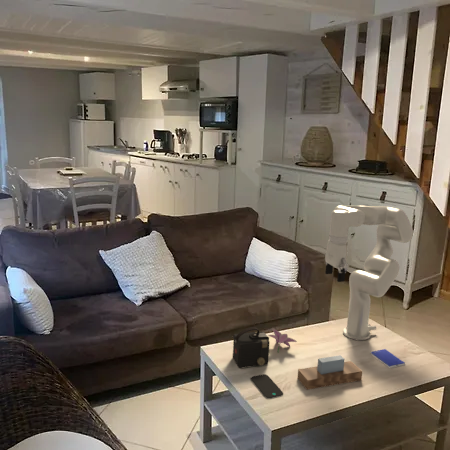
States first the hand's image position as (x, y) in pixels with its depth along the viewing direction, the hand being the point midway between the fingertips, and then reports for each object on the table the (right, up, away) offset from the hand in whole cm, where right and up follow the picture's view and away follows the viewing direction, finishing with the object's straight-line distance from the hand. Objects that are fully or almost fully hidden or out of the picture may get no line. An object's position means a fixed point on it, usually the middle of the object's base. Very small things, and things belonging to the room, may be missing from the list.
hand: (334, 277), depth 205 cm
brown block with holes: (-6, -38, -17) cm, 43 cm away
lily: (-22, -32, +6) cm, 40 cm away
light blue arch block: (-6, -38, -17) cm, 43 cm away
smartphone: (-31, -40, -23) cm, 56 cm away
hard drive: (+23, -36, 0) cm, 42 cm away
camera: (-36, -35, -6) cm, 51 cm away
